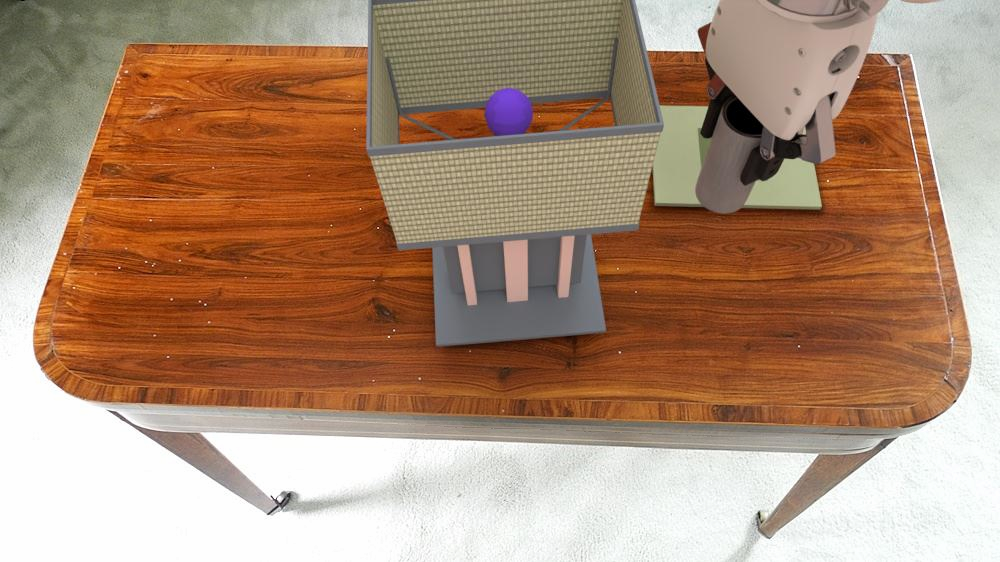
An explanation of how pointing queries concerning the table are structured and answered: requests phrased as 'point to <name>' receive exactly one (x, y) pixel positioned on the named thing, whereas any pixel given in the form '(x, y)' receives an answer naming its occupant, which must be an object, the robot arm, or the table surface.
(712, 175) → the gray hollow cylinder
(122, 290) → the table surface
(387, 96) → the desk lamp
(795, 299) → the table surface
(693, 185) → the mat
